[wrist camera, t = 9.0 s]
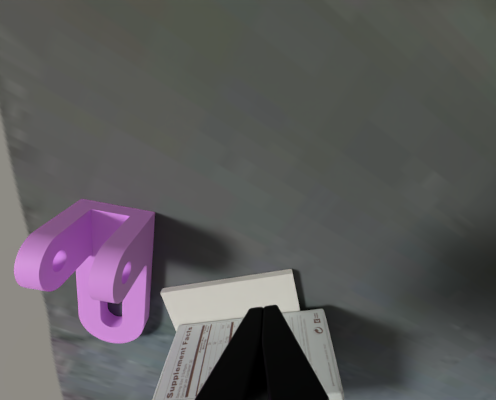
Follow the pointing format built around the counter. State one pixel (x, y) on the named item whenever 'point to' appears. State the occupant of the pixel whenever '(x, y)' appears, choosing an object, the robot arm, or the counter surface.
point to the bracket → (95, 264)
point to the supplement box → (217, 338)
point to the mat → (230, 297)
